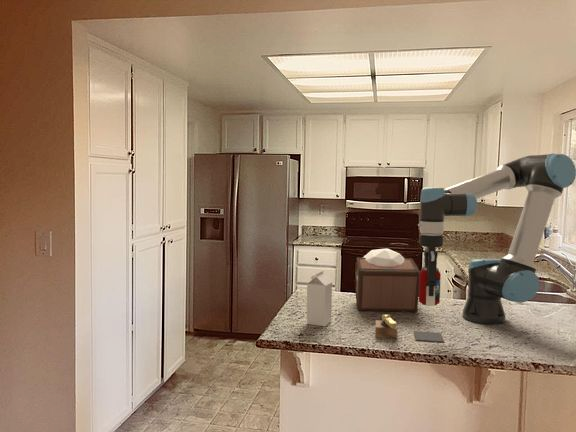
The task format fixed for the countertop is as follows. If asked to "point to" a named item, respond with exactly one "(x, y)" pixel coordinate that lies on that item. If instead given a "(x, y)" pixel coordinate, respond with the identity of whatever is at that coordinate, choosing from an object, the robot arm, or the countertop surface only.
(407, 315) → the countertop surface
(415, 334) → the mat
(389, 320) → the lever
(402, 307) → the tissue box
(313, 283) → the milk carton
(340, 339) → the countertop surface
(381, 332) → the pedestal
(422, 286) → the beverage can
